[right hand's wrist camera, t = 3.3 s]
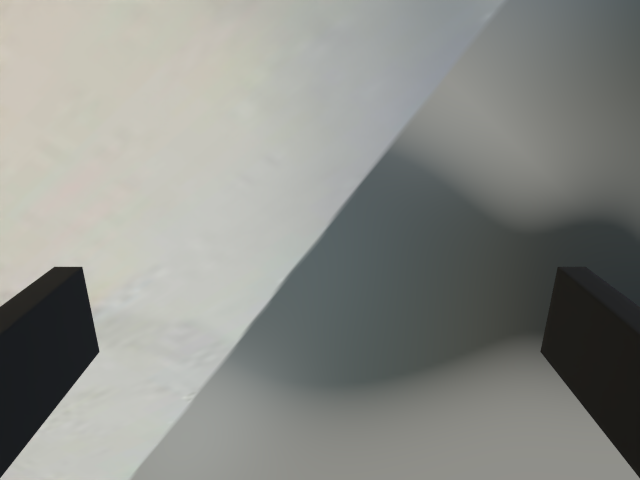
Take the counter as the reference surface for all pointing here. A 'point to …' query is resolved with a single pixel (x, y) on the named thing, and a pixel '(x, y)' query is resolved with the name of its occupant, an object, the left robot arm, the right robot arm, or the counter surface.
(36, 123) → the counter surface
